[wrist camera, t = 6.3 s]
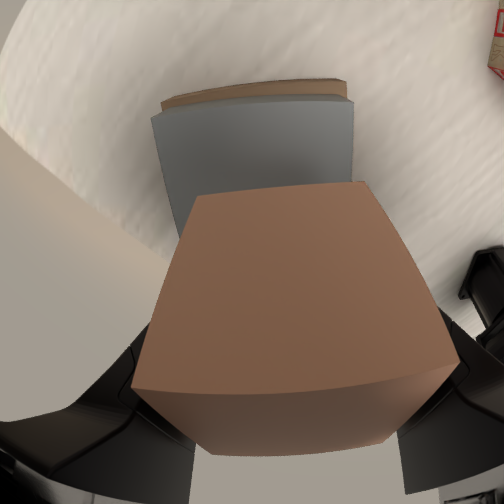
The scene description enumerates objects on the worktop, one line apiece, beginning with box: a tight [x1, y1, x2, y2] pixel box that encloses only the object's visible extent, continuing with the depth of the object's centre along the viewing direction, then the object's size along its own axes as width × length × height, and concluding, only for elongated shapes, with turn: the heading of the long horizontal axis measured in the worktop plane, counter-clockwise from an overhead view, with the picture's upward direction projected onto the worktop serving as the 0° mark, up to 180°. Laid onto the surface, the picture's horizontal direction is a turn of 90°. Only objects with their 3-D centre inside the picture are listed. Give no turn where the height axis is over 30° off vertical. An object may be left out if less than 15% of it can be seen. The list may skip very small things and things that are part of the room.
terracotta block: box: [131, 181, 460, 456], centre depth 7 cm, size 5×5×6 cm
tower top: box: [151, 94, 354, 238], centre depth 15 cm, size 9×9×3 cm
